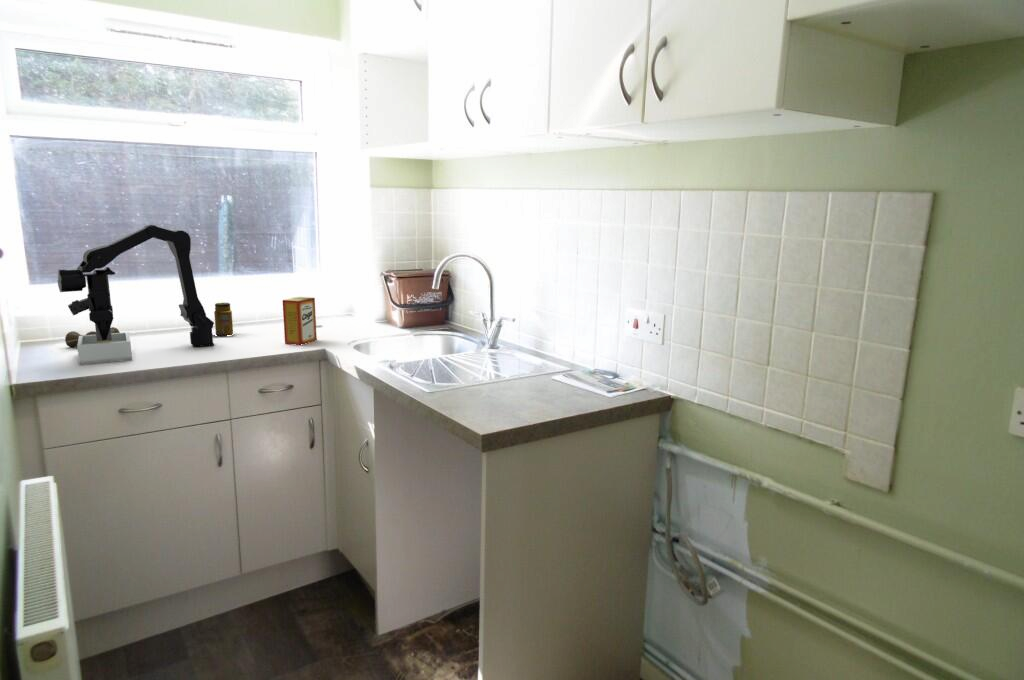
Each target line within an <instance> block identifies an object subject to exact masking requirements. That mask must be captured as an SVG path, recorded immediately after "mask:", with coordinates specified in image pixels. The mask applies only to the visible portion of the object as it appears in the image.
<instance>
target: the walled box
mask: <svg viewBox="0 0 1024 680" xmlns="http://www.w3.org/2000/svg"><path fill="white" fill-rule="evenodd" d="M83 335H84V336H79V339H78V344H77V347H76V349H77V354H78V363H79V366H83V365H84V364H86V365H94V364H96V363H97V364H105V363H107V364H108V363H115V362H116V363H117V362H127V361H133V353H132V345H131V344H132V343H131V338H130V337H131V336H130V333H129V332H127V331H125V332H120V333H111V336H112V342H110V343H98V344H97V337H96V335H86V334H83ZM84 366H85V365H84Z"/></svg>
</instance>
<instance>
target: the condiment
mask: <svg viewBox="0 0 1024 680" xmlns="http://www.w3.org/2000/svg"><path fill="white" fill-rule="evenodd" d="M214 306H215V308H214V309H215V310H214V311H213V313H214V326H215V328H214V329H215V333H214V334H216V335H217V336H227V335H232V334H233V333H234V328H233V326H234V325H233V312H232V310H231V304H230V303H229V302H218V303H215V304H214ZM214 334H212V336H213V338H218V337H217V336H215V335H214Z"/></svg>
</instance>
